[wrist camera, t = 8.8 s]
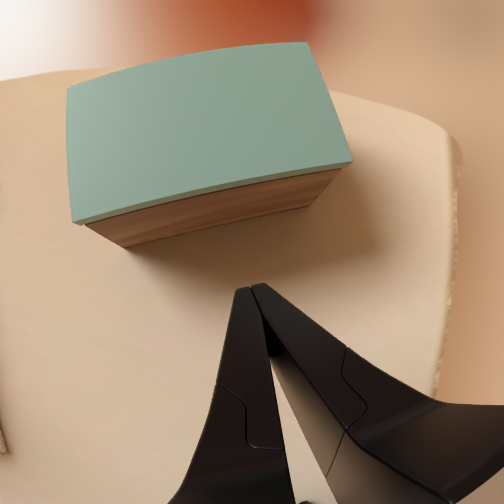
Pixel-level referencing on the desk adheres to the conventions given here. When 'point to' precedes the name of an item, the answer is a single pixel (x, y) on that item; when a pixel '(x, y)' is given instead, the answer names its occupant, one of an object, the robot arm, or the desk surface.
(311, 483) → the desk surface
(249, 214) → the walnut box
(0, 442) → the packaged product
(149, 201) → the lid
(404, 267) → the desk surface
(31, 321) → the desk surface
